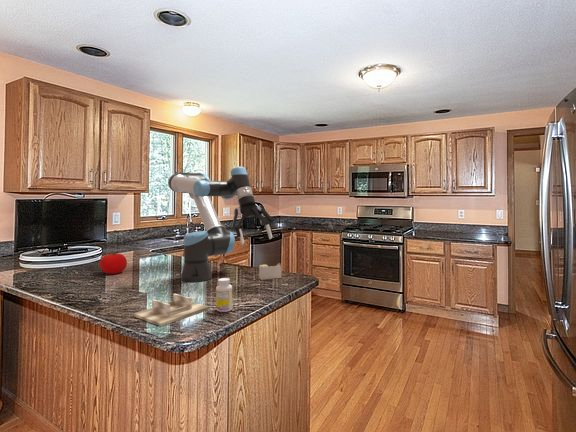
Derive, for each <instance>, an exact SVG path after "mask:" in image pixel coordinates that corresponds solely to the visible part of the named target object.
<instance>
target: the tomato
mask: <svg viewBox="0 0 576 432" xmlns="http://www.w3.org/2000/svg"><path fill="white" fill-rule="evenodd" d="M127 265H128V260H127V258H126V256H125V255H123V254H122V253H117V252H116V253H115V252H113V253H108V254H104V256H102V257H101V259H100V261H99V268H100V270H101V271H102V272H104V273H106V274H109V275H110V274H111V275H115V274H119V273H122V272H123V271H124V270H125V269H126V268H127Z"/></svg>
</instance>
